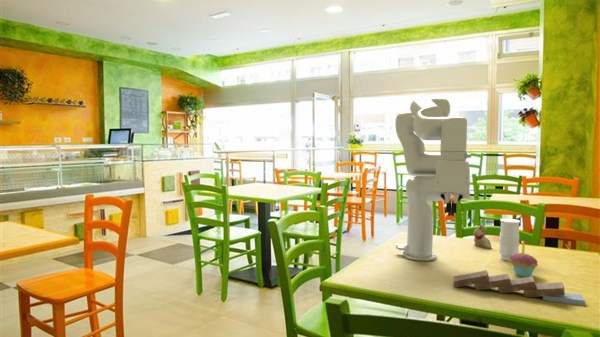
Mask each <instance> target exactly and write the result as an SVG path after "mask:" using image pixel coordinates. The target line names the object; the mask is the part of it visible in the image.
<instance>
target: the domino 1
mask: <svg viewBox="0 0 600 337" xmlns="http://www.w3.org/2000/svg"><path fill="white" fill-rule="evenodd" d="M489 277H490V276H489V272H488V270H481V271H475V272H472V273H471V272H470V273H465V274H460V275H455V276H454V277H453V281H452V283H453V285H454V288H455V289H456V288H459V287H466V286H472V285H474V284H479V283H484V282H489Z"/></svg>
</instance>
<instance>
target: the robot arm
mask: <svg viewBox="0 0 600 337" xmlns="http://www.w3.org/2000/svg"><path fill="white" fill-rule="evenodd" d="M450 112H451V105H450V101H448V99H447V98H446V97H440V96H421V97H417V98H415V99H414V100H412V102H411V103H410V106H409V110H407V111H402V112H400V113H398V114H397V116H396V118H395V124H394V125H395V131H396V136H397V138H398V140H399V142H400V144H401V147H402V149H403V151H402V152H403V156H404V162H405V167H406V171H407V173H408V174H409V176H413V177H410V178H409V179H407V181H406V183H405V191H406V192H405V194H406V199H407V239H406V240H407V241H406V243H404V244H401V243H396V244H395V248H396V250H398V251H403V252H402V256H403V257H404V258H405V259H408V260H413V261H420V262H428V261H430V262H431V261H434V260H436V259H437V254H436V253H435V252H433V240H434V239H433V238H434V237H433V236H434V211H433V209H432V207H431V206H430V205H429V204H428V202H430V201H431V202H445V204H446V206H445V207H446V208H445V213H447V215H448V217H454V216H455V214H457V204H458V203H459V202H460V201H461V200H462V199H467V198H470V197H471V192H470V188H471V187H470V186H471V175H470V172H471V171H470V170H471V169H470V164H469V163H470V162H469V161H467V159H470V158H471V159H472V153H469V152H467V142H468V141H467V140H468V120H467V118H466V117H462V116H450ZM424 141H440V152H427V151H426V147H425V144H424ZM453 195H454V197H453ZM452 197H453V200H452V201H451V199H452Z"/></svg>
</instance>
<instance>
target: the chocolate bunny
mask: <svg viewBox="0 0 600 337" xmlns="http://www.w3.org/2000/svg"><path fill="white" fill-rule="evenodd" d="M487 229H488V228H487V227H486V226H485V225H484V224H483V223H482V224H480V225H479V226H478V227H477V228H475V229H474V230H473V232H472V234H473V236H474V239H473V242H474V246H475V247H477V248H481V249H486V250H487V249H488V250H490V249H492V244H491V241H490V239H489V238H488V237H486V236H485V235H486V231H487Z"/></svg>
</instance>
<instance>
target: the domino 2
mask: <svg viewBox="0 0 600 337" xmlns="http://www.w3.org/2000/svg"><path fill="white" fill-rule="evenodd" d="M510 280H511V277H510V274H509V273H503V274H498V275H492V276H489V282H484V283H479V284H473V285H474V289H475V291H476V292H477V291H482V290H489V289H490V290H491V289H495V288H497V289H498V287H503V286H510V285H511V281H510Z"/></svg>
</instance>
